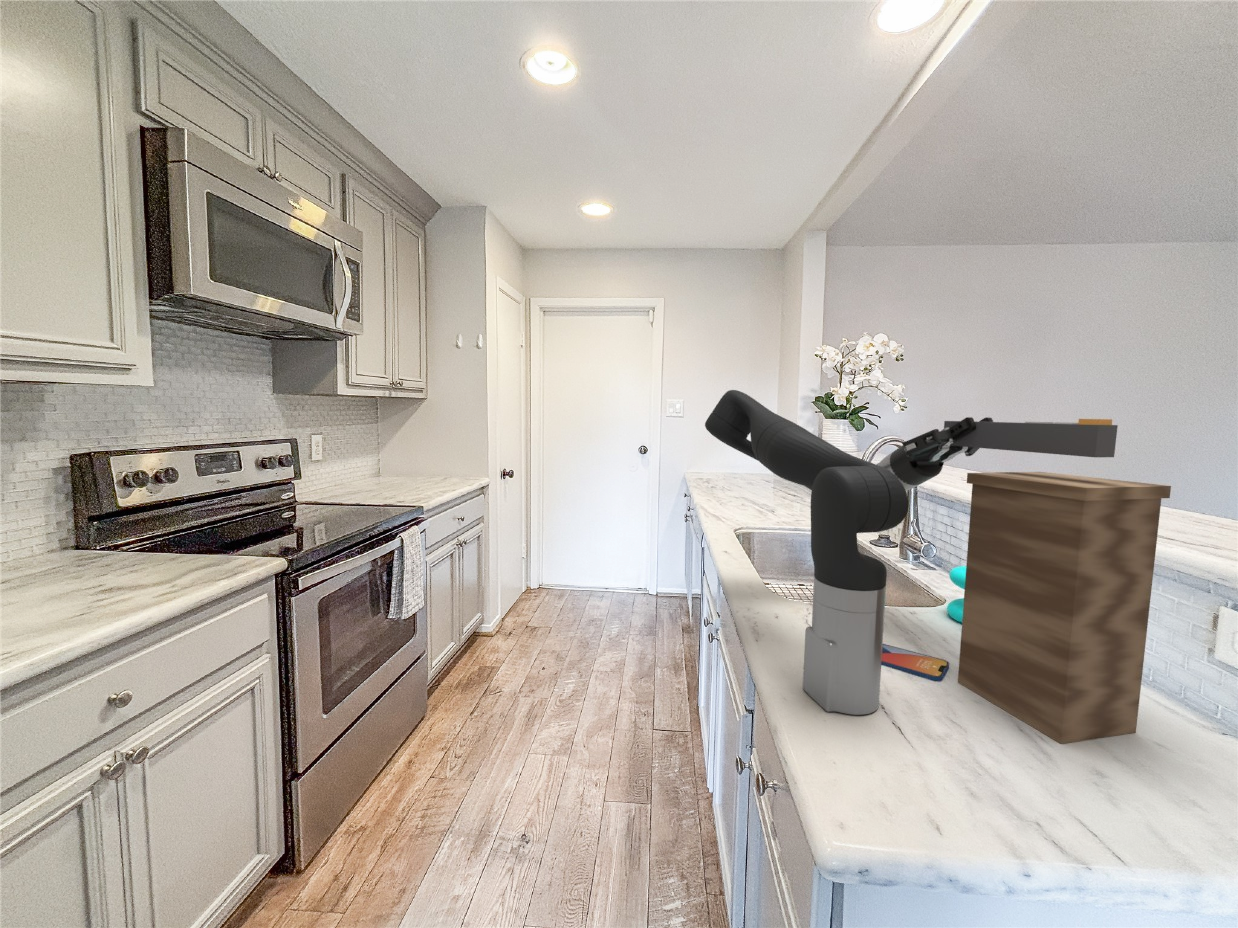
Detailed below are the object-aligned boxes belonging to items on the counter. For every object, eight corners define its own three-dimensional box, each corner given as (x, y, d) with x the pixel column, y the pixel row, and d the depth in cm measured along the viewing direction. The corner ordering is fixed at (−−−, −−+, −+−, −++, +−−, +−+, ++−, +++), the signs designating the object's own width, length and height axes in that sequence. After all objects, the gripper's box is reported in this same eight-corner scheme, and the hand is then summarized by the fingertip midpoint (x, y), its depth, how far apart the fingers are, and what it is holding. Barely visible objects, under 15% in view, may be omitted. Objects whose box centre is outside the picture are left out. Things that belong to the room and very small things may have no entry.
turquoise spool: (1011, 583, 94) (946, 572, 100) (1006, 635, 95) (943, 621, 101) (1012, 570, 102) (953, 561, 108) (1008, 619, 102) (949, 607, 109)
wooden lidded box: (1061, 746, 63) (1086, 488, 60) (952, 680, 78) (967, 472, 75) (1143, 734, 65) (1171, 485, 62) (1021, 672, 81) (1039, 471, 78)
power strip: (1095, 457, 63) (1099, 419, 63) (942, 444, 86) (944, 416, 85) (1114, 457, 64) (1118, 419, 63) (957, 444, 86) (960, 416, 86)
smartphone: (853, 641, 93) (853, 635, 93) (950, 667, 83) (950, 661, 83) (838, 655, 88) (839, 649, 88) (940, 685, 78) (940, 678, 77)
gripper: (868, 449, 95) (936, 401, 80) (932, 449, 98) (1009, 402, 83) (880, 486, 92) (953, 443, 77) (946, 485, 95) (1029, 443, 80)
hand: (982, 422), depth 80 cm, fingers closed on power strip, 3 cm apart
